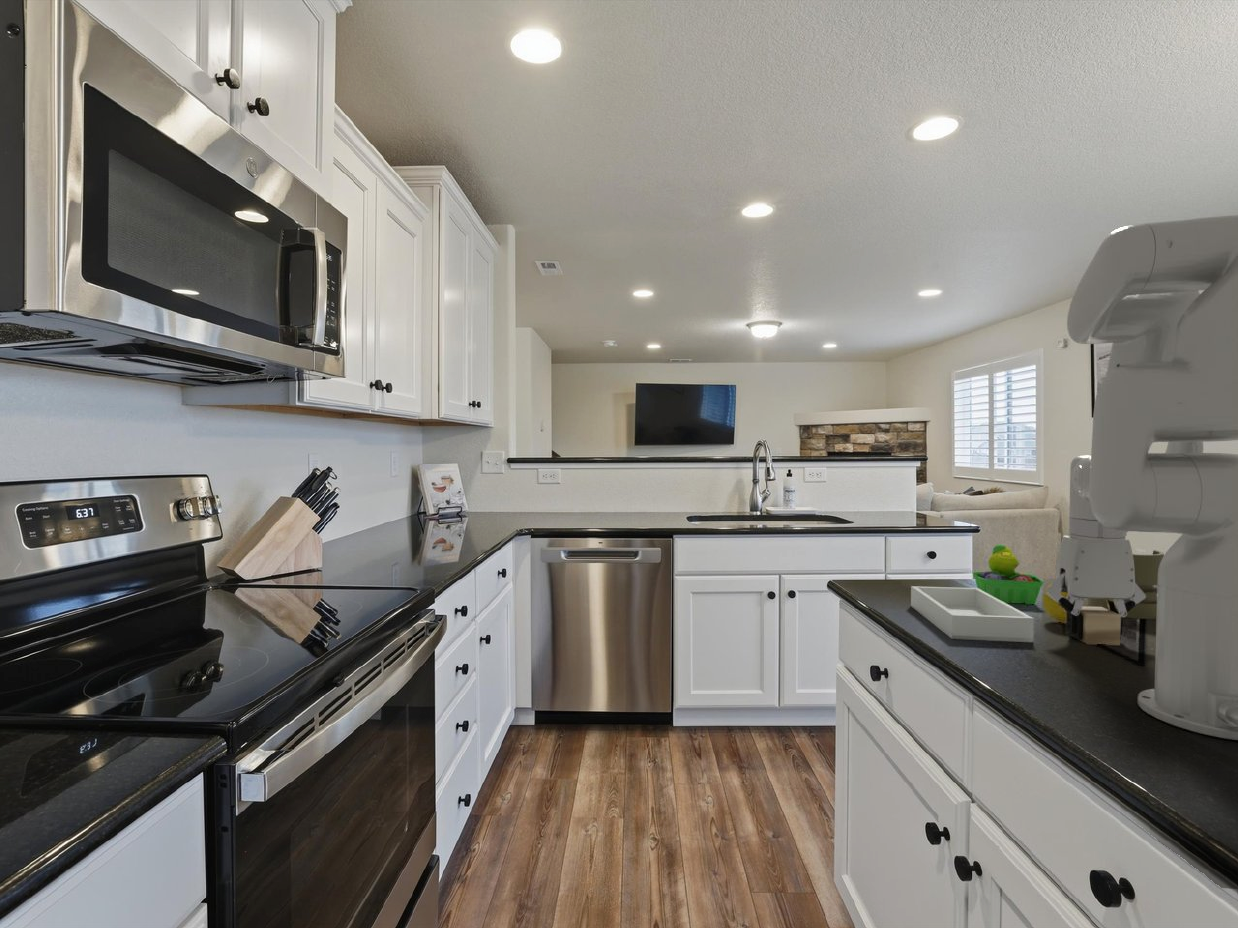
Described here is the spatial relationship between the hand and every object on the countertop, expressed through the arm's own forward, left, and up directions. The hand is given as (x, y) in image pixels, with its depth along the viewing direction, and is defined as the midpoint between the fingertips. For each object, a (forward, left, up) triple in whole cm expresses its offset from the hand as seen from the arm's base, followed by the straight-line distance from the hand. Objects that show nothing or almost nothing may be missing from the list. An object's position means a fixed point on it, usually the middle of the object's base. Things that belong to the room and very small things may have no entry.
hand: (1093, 636), depth 105 cm
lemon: (+10, 0, -1) cm, 10 cm away
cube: (0, 0, -1) cm, 1 cm away
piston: (+21, -17, -1) cm, 27 cm away
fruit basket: (+27, +2, -1) cm, 27 cm away
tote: (+8, +17, -1) cm, 19 cm away
